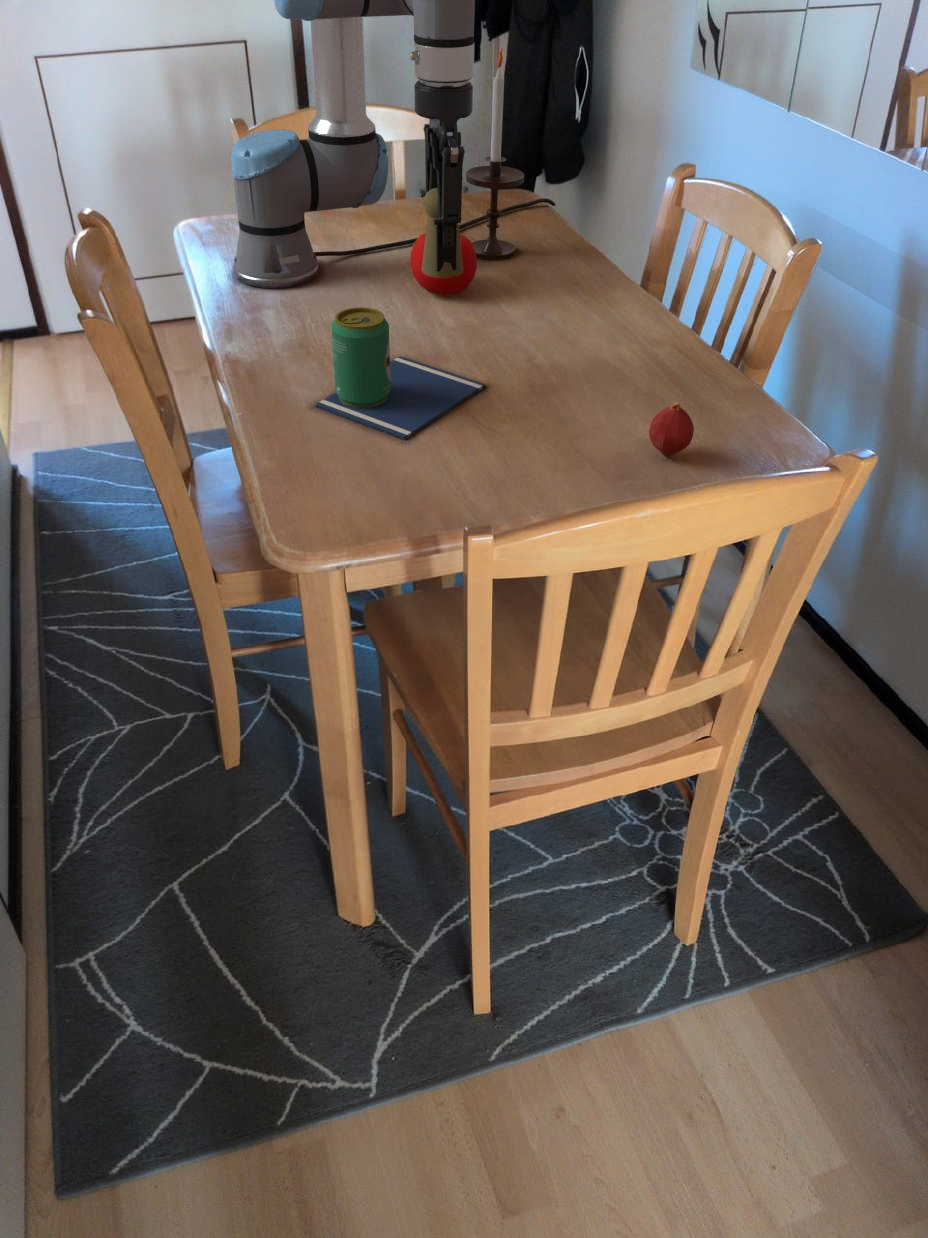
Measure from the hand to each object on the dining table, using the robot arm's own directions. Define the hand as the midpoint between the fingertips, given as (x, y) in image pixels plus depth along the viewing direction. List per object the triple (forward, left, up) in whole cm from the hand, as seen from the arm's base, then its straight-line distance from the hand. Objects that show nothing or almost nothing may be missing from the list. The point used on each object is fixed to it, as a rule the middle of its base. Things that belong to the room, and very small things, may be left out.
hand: (442, 263), depth 142 cm
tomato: (-27, -19, -17) cm, 38 cm away
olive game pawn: (0, 0, -1) cm, 1 cm away
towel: (+10, 0, -17) cm, 19 cm away
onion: (+2, +39, -17) cm, 42 cm away
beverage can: (+14, -4, -17) cm, 22 cm away
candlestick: (-49, -23, -17) cm, 57 cm away
